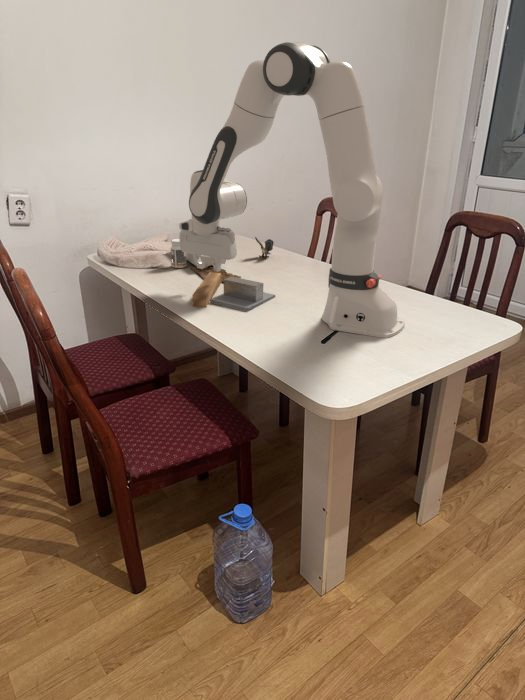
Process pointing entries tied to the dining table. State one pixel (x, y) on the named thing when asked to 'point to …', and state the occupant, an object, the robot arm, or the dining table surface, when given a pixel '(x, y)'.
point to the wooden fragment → (205, 272)
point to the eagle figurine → (267, 248)
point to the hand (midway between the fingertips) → (208, 269)
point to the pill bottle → (178, 255)
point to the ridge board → (240, 302)
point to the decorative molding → (203, 260)
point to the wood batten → (206, 290)
